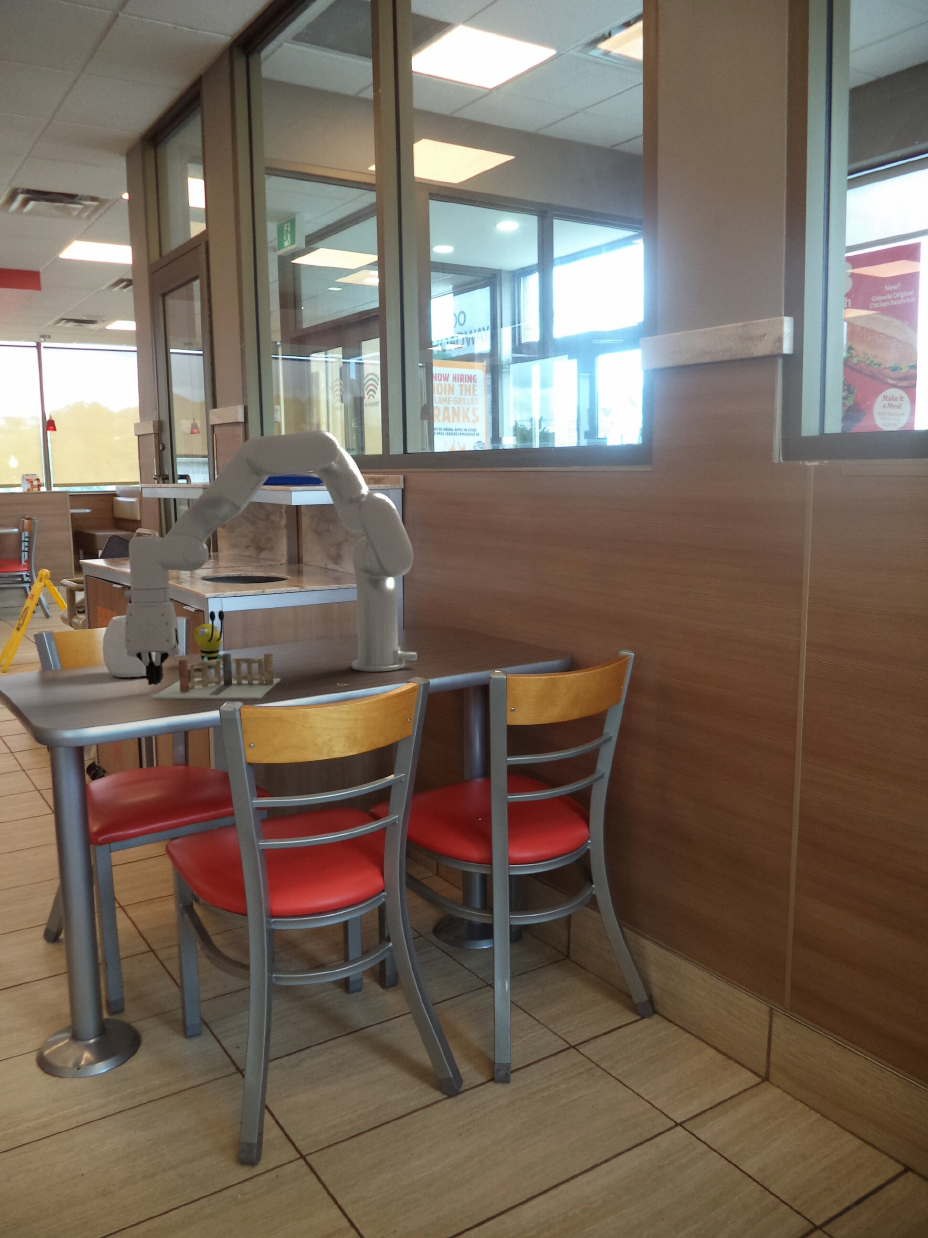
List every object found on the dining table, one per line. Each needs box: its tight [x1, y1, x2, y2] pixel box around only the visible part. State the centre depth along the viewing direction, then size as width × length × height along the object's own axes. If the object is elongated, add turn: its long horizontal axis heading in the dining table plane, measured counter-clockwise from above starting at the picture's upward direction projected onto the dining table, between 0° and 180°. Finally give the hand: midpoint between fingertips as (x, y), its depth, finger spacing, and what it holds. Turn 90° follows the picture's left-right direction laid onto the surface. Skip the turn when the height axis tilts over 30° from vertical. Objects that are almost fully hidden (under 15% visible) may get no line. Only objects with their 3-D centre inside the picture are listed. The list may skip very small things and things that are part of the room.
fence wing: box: [178, 659, 224, 692], centre depth 204 cm, size 10×2×6 cm, turn 138°
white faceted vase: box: [102, 614, 155, 678], centre depth 221 cm, size 13×13×14 cm
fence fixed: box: [221, 653, 274, 685], centre depth 208 cm, size 11×2×7 cm, turn 88°
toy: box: [193, 610, 225, 667], centre depth 230 cm, size 6×14×15 cm
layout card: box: [152, 677, 281, 700], centre depth 206 cm, size 22×19×1 cm
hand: (154, 683), depth 202 cm, fingers closed
